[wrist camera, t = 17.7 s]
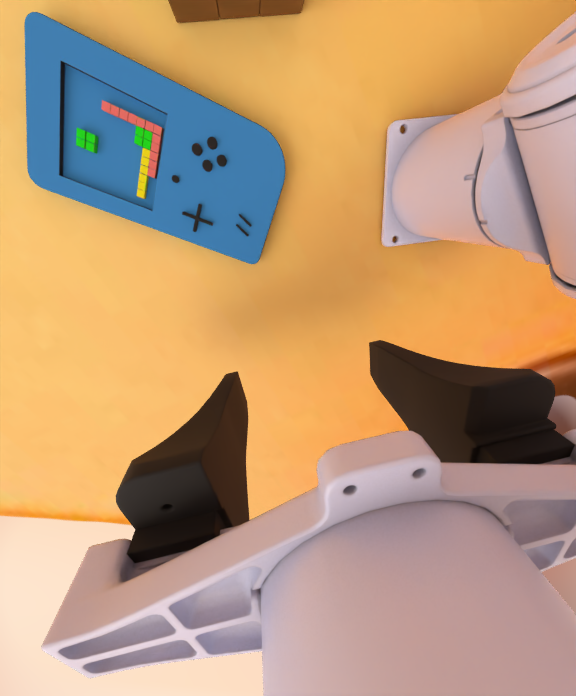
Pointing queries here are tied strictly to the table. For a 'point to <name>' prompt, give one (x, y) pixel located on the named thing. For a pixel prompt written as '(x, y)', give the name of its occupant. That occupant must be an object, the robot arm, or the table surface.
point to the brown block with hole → (231, 8)
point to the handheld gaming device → (145, 145)
